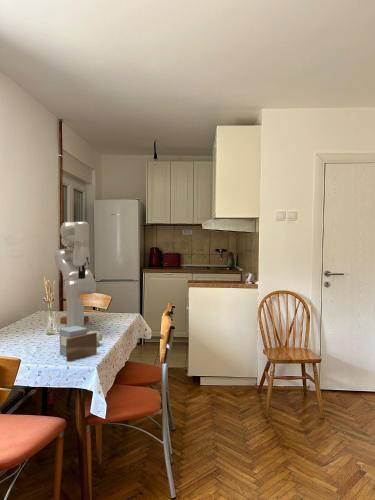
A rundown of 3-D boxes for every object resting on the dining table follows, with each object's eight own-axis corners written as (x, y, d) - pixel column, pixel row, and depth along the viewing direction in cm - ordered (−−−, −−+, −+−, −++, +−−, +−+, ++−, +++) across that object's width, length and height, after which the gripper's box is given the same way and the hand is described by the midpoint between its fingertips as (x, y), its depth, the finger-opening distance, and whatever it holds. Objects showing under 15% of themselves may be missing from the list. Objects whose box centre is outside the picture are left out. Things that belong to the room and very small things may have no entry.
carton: (64, 321, 244) (64, 315, 244) (88, 321, 244) (88, 315, 244) (60, 324, 235) (60, 317, 235) (85, 324, 235) (85, 317, 235)
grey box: (59, 354, 172) (59, 329, 171) (76, 350, 179) (76, 325, 178) (69, 358, 166) (69, 332, 165) (87, 353, 173) (87, 328, 172)
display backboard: (66, 360, 162) (65, 338, 162) (94, 353, 173) (94, 332, 173) (67, 361, 161) (67, 339, 161) (96, 353, 172) (96, 332, 172)
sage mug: (84, 346, 185) (84, 332, 185) (98, 342, 192) (98, 329, 191) (91, 348, 181) (91, 334, 181) (105, 344, 188) (105, 331, 187)
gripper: (68, 244, 199) (68, 278, 199) (83, 244, 189) (83, 280, 189) (80, 244, 205) (80, 277, 205) (95, 244, 195) (95, 279, 195)
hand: (81, 278), depth 197 cm, fingers closed
